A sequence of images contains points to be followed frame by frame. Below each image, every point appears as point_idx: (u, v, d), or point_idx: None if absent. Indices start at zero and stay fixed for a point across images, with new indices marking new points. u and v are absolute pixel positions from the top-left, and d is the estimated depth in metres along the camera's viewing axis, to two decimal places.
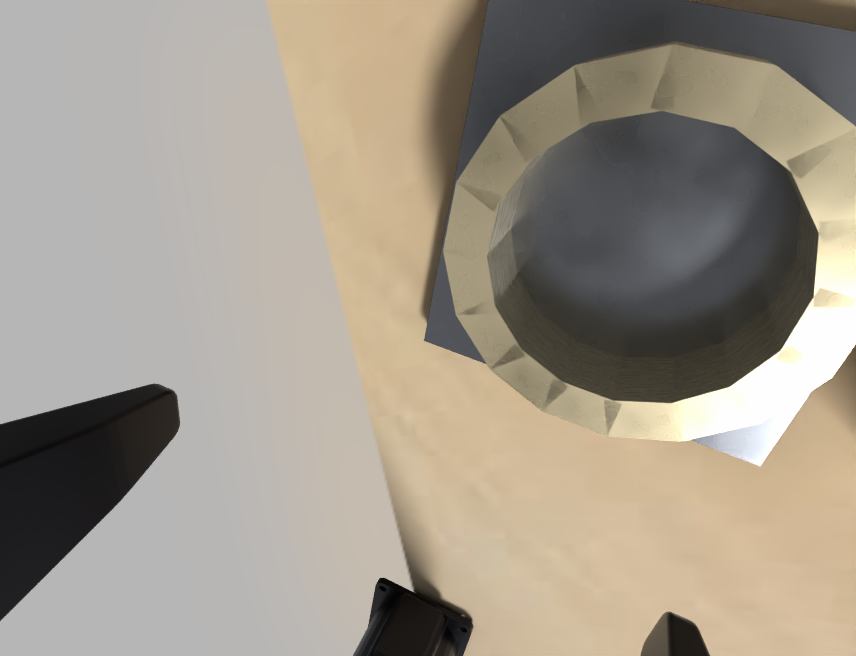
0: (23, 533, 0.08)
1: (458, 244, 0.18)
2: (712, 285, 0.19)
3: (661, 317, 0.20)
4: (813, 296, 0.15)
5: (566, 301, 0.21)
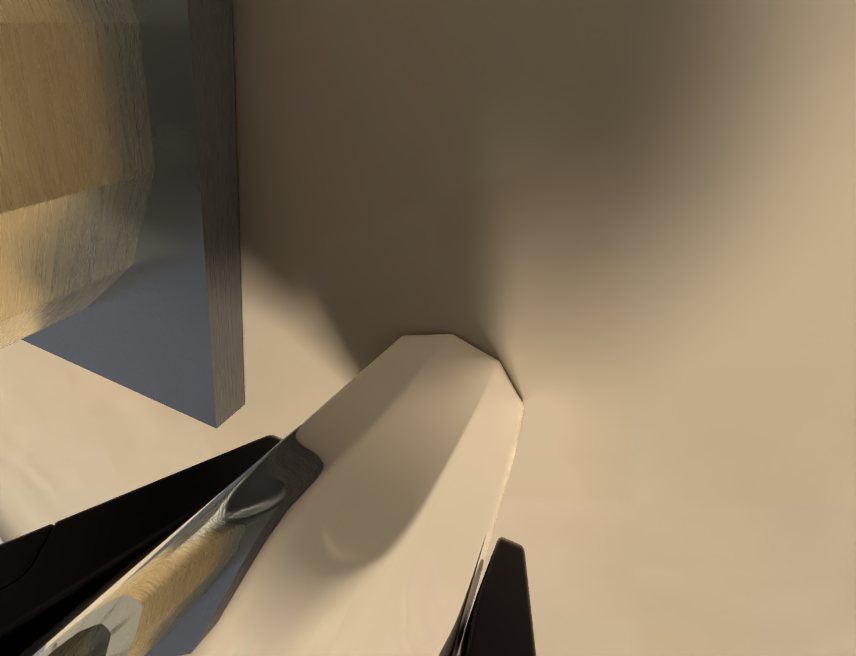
0: None
1: None
2: None
3: None
4: None
5: None
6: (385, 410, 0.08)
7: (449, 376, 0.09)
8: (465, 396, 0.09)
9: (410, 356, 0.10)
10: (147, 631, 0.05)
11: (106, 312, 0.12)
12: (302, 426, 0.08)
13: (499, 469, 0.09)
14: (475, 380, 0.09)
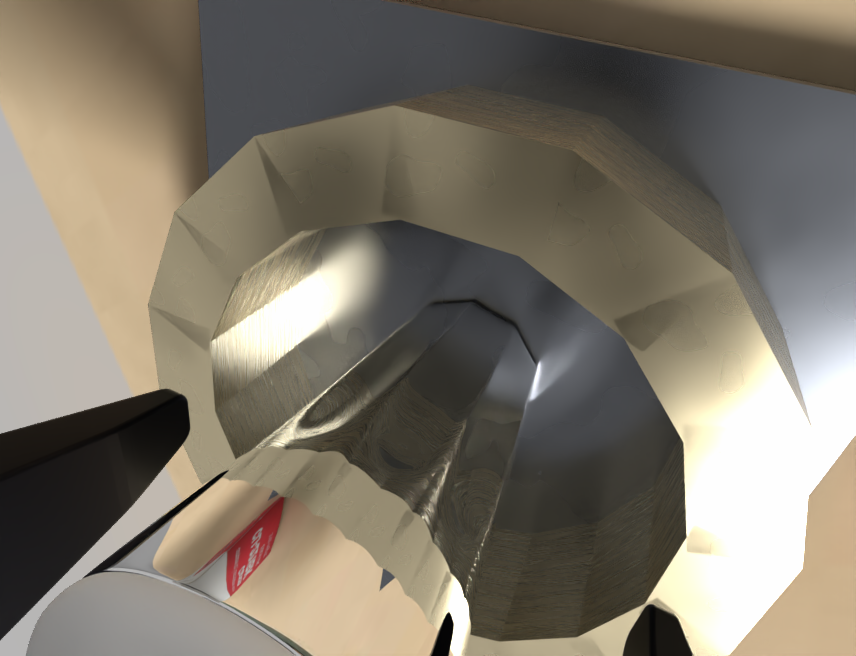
0: (35, 540, 0.08)
1: (176, 391, 0.12)
2: (572, 447, 0.12)
3: (509, 481, 0.13)
4: (686, 535, 0.09)
5: None
6: (421, 359, 0.09)
7: (473, 336, 0.10)
8: (487, 352, 0.10)
9: (437, 319, 0.11)
10: (252, 508, 0.06)
11: None
12: (349, 373, 0.09)
13: (517, 416, 0.10)
14: (496, 340, 0.11)
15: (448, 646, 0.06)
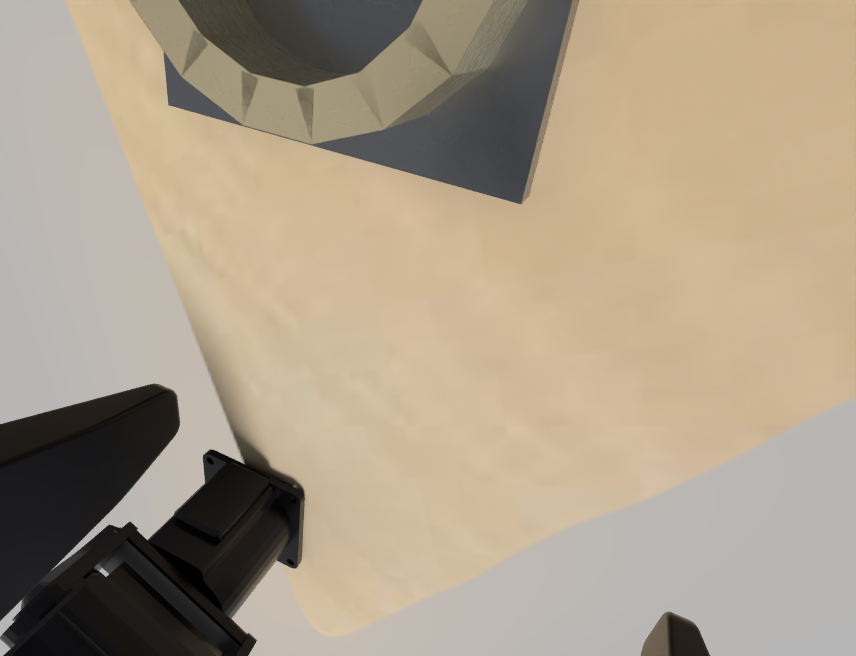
0: (23, 533, 0.08)
1: None
2: None
3: (384, 8, 0.16)
4: None
5: (287, 9, 0.18)
6: None
7: None
8: None
9: None
10: None
11: (447, 114, 0.17)
12: None
13: None
14: None
15: None
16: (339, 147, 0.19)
